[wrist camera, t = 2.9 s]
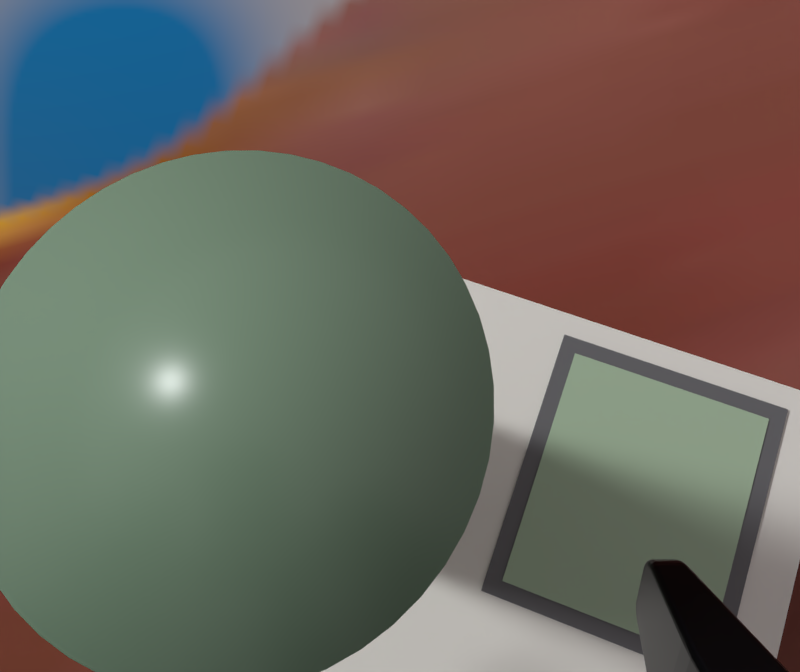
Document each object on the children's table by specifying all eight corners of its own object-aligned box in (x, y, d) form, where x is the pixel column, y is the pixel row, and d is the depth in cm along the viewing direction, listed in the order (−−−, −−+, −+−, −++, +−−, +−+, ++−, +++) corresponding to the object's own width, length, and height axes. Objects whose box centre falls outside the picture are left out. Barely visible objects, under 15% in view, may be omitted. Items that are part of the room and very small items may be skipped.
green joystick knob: (422, 581, 16) (377, 798, 5) (259, 516, 17) (-144, 564, 5) (480, 412, 17) (565, 238, 6) (323, 356, 18) (99, 91, 6)
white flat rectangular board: (625, 1198, 14) (641, 1256, 13) (57, 908, 16) (29, 938, 15) (814, 407, 18) (839, 401, 17) (330, 246, 20) (324, 231, 19)
